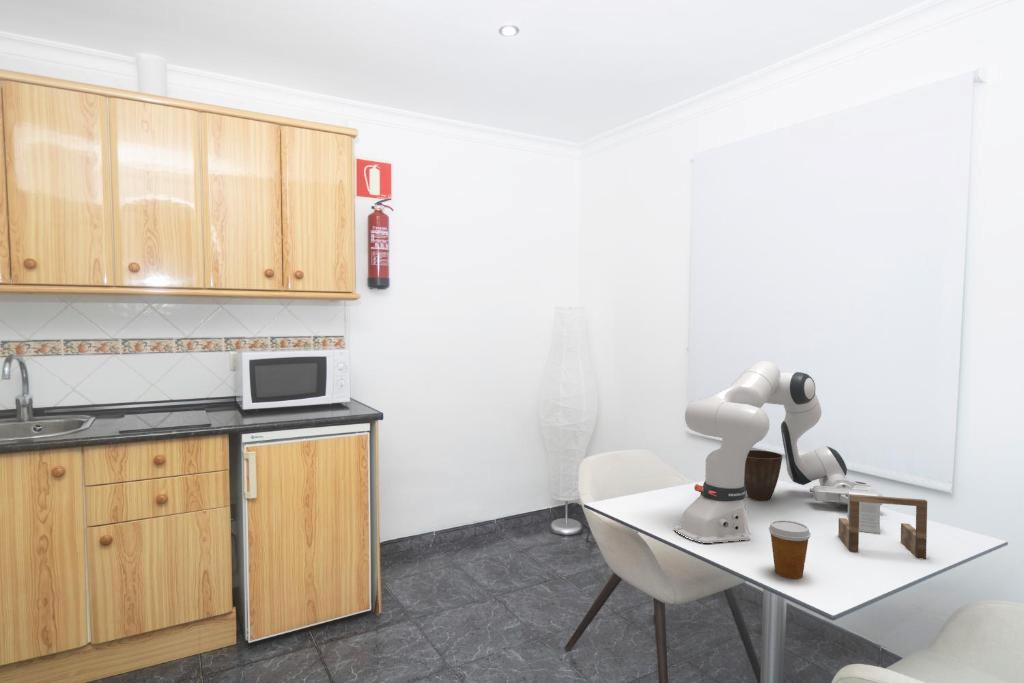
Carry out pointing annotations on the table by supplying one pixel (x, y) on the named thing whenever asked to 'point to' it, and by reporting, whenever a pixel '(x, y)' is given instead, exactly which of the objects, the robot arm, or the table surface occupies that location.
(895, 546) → the table surface
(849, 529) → the wooden archway
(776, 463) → the plant pot
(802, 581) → the table surface
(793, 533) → the disposable coffee cup
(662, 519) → the table surface
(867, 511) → the small box
